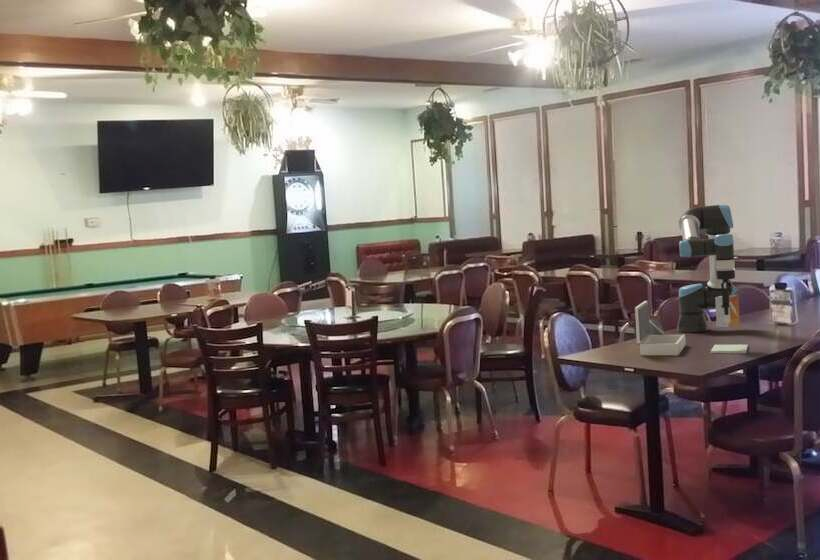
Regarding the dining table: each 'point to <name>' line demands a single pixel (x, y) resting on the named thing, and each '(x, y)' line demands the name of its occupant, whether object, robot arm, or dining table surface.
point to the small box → (733, 311)
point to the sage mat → (729, 349)
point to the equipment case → (655, 336)
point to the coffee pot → (656, 321)
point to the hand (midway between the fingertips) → (728, 320)
